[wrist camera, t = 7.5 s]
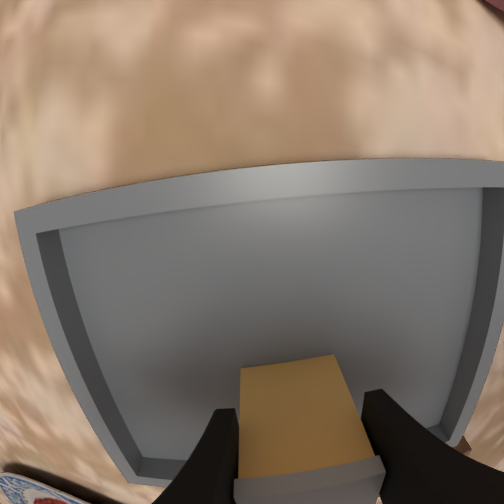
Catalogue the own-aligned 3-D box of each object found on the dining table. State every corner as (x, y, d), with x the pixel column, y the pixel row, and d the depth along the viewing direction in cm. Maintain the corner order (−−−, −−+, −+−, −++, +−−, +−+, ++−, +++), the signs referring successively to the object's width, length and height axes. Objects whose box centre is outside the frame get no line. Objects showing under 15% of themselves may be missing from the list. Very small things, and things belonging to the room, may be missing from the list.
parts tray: (488, 160, 11) (519, 163, 9) (444, 423, 15) (457, 445, 13) (44, 203, 12) (13, 211, 9) (136, 457, 16) (127, 482, 14)
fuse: (336, 351, 13) (385, 472, 6) (335, 429, 14) (364, 531, 8) (237, 366, 13) (233, 497, 6) (254, 441, 14) (258, 548, 8)
